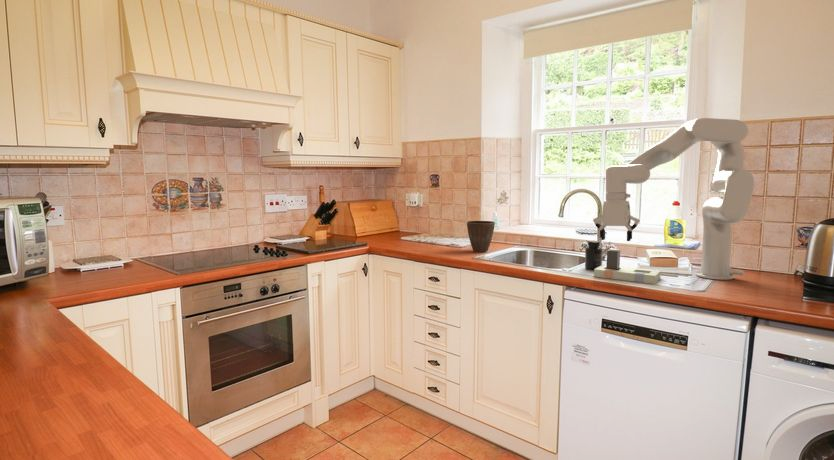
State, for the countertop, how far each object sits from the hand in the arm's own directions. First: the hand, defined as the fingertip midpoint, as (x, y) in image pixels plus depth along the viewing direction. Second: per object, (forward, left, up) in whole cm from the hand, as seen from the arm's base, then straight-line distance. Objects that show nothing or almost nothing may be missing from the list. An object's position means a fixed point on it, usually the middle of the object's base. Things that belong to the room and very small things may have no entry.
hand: (615, 240), depth 188 cm
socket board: (-5, 0, -14) cm, 15 cm away
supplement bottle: (+11, -11, -15) cm, 21 cm away
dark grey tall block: (+1, 0, -14) cm, 14 cm away
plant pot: (+74, -26, -15) cm, 80 cm away
